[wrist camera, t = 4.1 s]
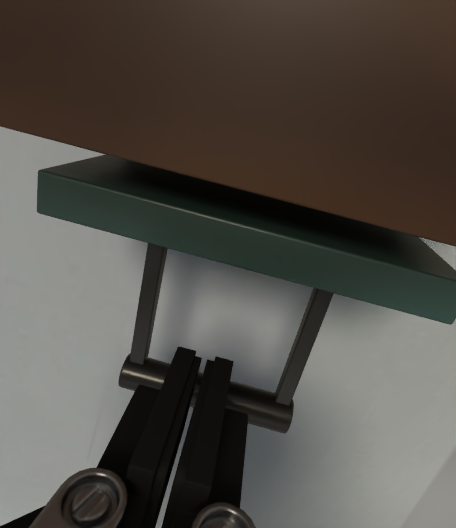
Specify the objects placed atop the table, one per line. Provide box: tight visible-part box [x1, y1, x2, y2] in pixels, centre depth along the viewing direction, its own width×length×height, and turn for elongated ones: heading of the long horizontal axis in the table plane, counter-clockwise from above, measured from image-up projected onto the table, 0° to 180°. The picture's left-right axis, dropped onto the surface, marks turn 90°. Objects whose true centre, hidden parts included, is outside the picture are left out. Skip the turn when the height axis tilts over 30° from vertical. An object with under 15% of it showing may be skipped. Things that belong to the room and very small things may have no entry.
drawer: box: [37, 154, 456, 433], centre depth 12 cm, size 21×11×7 cm, turn 167°
